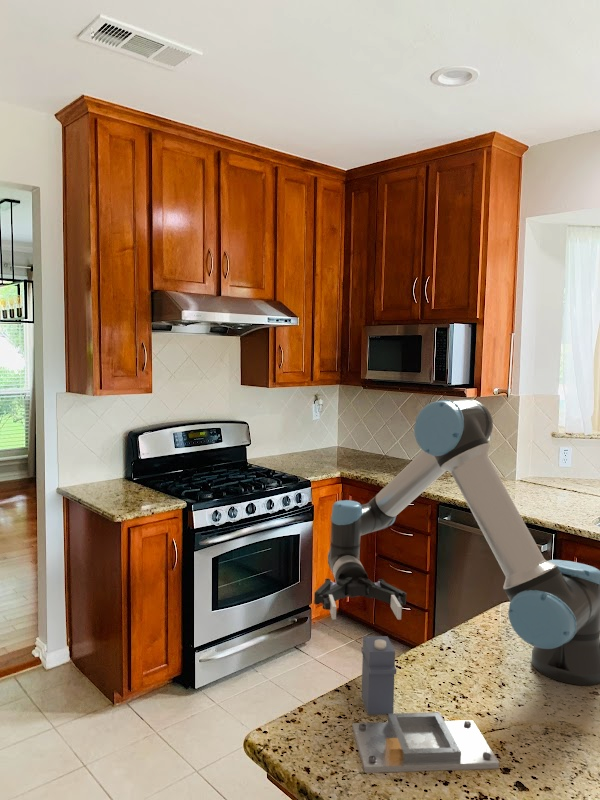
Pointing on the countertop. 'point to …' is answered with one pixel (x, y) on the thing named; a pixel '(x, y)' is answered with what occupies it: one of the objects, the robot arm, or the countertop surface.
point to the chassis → (422, 744)
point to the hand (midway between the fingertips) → (367, 613)
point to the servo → (378, 675)
